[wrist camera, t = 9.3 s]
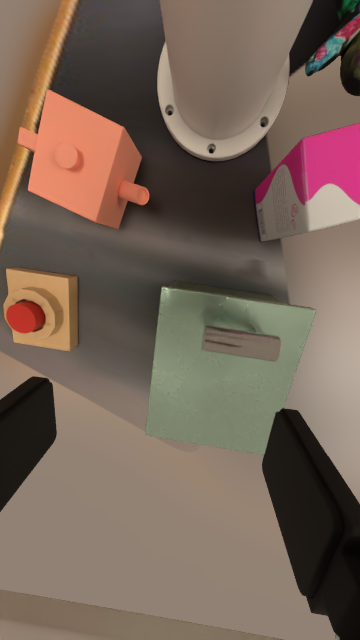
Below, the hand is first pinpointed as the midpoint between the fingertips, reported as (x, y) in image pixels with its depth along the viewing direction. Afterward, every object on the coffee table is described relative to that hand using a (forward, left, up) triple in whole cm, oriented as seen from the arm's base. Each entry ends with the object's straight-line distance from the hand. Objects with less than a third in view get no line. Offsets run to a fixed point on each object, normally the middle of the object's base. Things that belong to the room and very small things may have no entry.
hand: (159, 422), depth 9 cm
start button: (+3, -19, -17) cm, 26 cm away
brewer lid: (+4, +4, -11) cm, 12 cm away
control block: (+3, -19, -21) cm, 28 cm away
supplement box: (-13, +9, -21) cm, 26 cm away
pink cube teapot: (-13, -11, -21) cm, 27 cm away
